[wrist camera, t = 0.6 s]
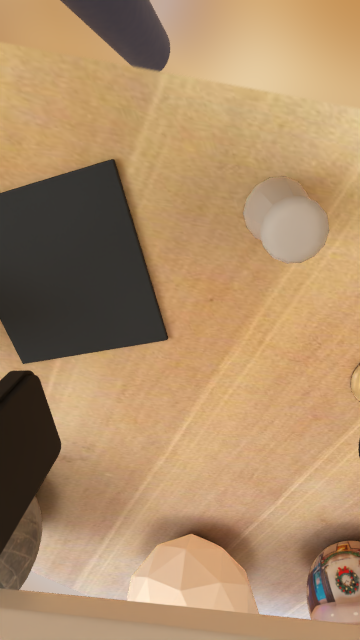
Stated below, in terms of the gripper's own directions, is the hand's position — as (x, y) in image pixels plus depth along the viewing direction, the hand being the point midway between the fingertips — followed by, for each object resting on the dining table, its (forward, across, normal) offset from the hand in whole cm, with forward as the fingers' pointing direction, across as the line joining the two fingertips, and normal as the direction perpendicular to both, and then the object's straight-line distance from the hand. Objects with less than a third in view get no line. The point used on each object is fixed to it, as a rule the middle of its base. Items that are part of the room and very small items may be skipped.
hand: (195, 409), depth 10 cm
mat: (+28, +18, +4) cm, 33 cm away
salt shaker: (+28, -5, -2) cm, 28 cm away
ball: (+28, +7, +53) cm, 60 cm away
